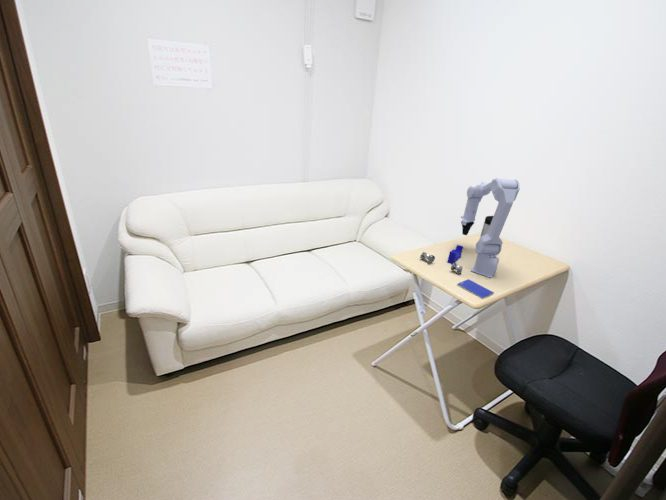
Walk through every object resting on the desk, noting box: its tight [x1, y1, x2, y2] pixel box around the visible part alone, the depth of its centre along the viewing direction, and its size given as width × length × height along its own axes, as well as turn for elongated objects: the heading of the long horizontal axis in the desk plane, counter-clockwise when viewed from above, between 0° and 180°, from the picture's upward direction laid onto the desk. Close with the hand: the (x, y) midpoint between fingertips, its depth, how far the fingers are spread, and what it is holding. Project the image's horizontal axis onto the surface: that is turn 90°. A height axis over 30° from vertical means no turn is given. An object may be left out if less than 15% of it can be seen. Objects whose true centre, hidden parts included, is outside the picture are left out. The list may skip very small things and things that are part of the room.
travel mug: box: [479, 215, 494, 238], centre depth 181 cm, size 6×7×20 cm
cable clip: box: [447, 244, 464, 265], centre depth 174 cm, size 12×4×6 cm, turn 144°
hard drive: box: [456, 278, 495, 300], centre depth 149 cm, size 2×8×12 cm
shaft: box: [419, 251, 436, 263], centre depth 169 cm, size 6×4×4 cm, turn 33°
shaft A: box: [450, 262, 463, 275], centre depth 161 cm, size 4×4×4 cm
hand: (464, 234), depth 183 cm, fingers closed
